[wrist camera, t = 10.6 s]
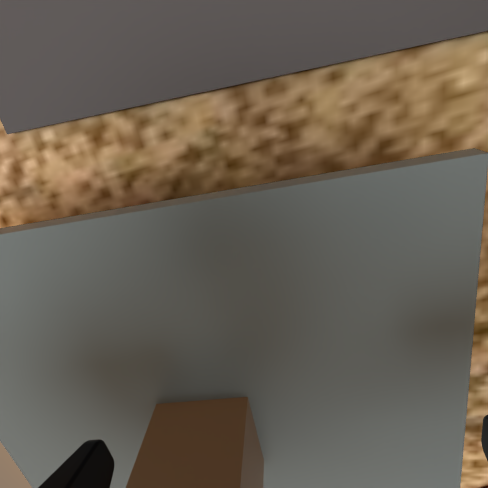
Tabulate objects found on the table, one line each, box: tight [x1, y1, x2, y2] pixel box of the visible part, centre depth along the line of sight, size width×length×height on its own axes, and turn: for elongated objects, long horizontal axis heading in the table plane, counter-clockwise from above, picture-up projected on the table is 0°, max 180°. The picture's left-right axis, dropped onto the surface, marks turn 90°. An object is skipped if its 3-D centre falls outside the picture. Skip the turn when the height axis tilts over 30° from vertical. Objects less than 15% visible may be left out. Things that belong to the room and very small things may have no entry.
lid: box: [0, 148, 488, 488], centre depth 14 cm, size 21×21×5 cm
